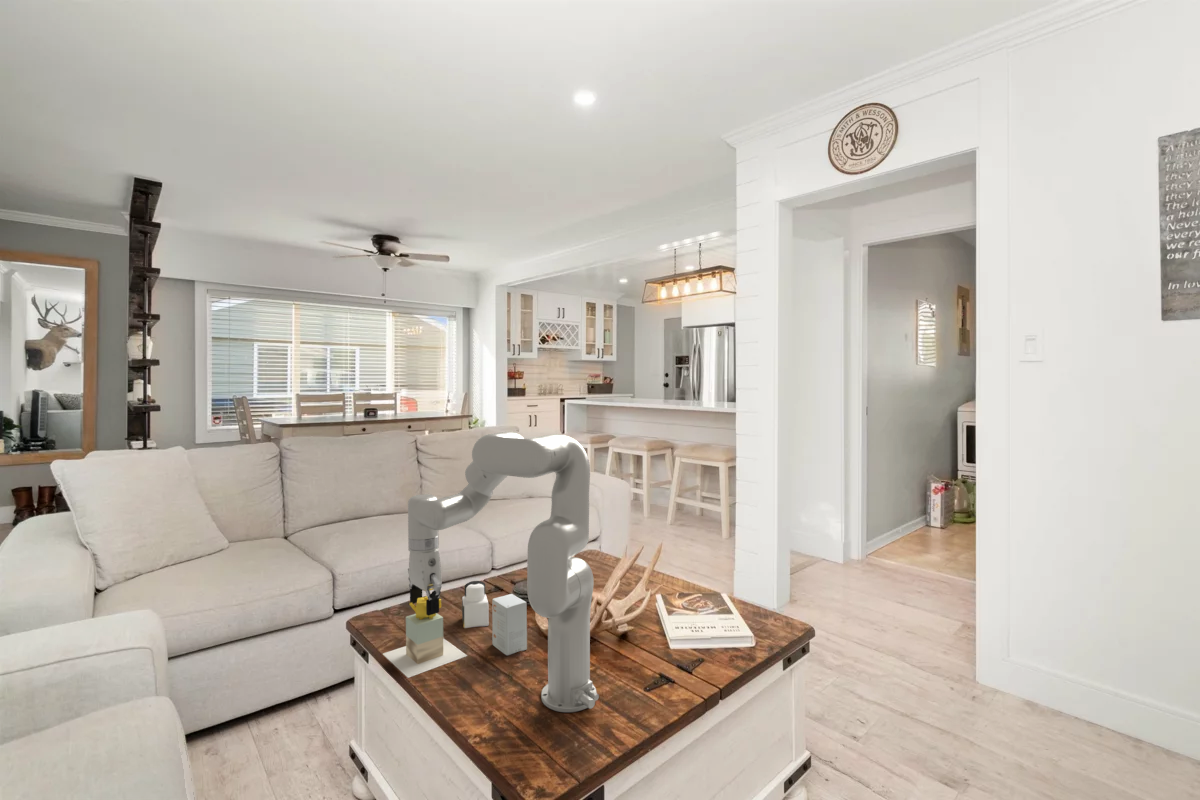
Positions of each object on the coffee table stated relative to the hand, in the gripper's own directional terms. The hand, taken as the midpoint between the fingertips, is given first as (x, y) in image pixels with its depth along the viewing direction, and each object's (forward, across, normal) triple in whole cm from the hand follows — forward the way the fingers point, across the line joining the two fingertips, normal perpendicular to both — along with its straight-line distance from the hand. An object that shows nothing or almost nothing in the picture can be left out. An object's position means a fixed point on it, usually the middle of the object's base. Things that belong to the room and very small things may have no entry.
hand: (424, 607), depth 145 cm
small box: (+13, -11, -19) cm, 26 cm away
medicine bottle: (+13, +9, -20) cm, 25 cm away
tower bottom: (+12, 0, 0) cm, 12 cm away
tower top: (+7, 0, 0) cm, 7 cm away
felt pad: (+13, 0, 0) cm, 13 cm away
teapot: (+3, 0, 0) cm, 3 cm away
